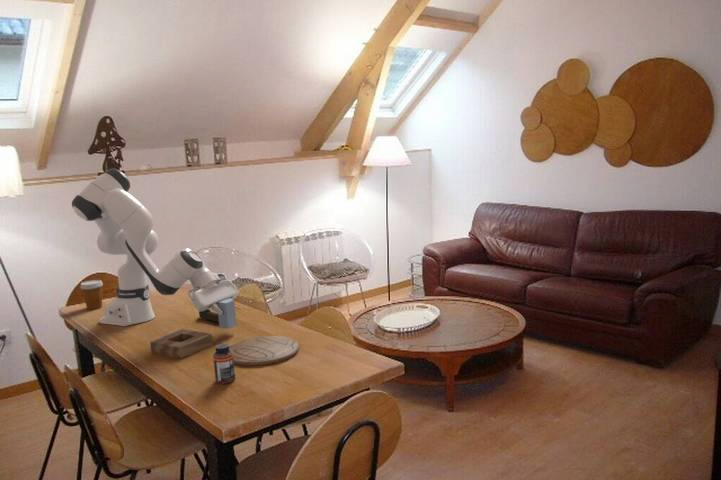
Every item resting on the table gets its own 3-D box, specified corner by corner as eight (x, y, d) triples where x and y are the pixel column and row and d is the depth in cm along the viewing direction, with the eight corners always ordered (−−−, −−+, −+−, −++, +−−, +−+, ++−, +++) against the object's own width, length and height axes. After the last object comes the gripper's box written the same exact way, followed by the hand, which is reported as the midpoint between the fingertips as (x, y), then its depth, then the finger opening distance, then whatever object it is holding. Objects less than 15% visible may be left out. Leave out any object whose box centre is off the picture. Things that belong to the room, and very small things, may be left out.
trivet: (262, 336, 221) (262, 331, 221) (313, 347, 207) (313, 342, 206) (210, 358, 201) (209, 353, 201) (262, 373, 187) (262, 367, 187)
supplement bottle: (217, 377, 184) (213, 342, 182) (236, 375, 185) (233, 341, 183) (214, 385, 178) (210, 349, 176) (234, 383, 179) (230, 348, 177)
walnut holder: (151, 352, 209) (150, 341, 208) (183, 339, 222) (182, 328, 221) (181, 358, 202) (180, 347, 201) (212, 344, 214) (211, 333, 214)
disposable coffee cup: (100, 310, 266) (96, 284, 264) (79, 311, 266) (75, 285, 264) (109, 304, 276) (106, 279, 273) (89, 305, 276) (85, 280, 274)
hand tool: (233, 324, 238) (232, 312, 237) (225, 326, 235) (224, 315, 234) (205, 316, 250) (204, 305, 249) (197, 318, 247) (196, 308, 246)
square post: (219, 327, 223) (216, 302, 222) (227, 323, 227) (225, 298, 225) (228, 328, 221) (226, 303, 219) (236, 325, 225) (234, 299, 223)
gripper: (189, 286, 216) (212, 314, 213) (228, 272, 233) (249, 299, 230) (182, 296, 219) (204, 325, 216) (220, 282, 236) (241, 308, 233)
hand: (227, 311), depth 223 cm, fingers closed on square post, 4 cm apart
